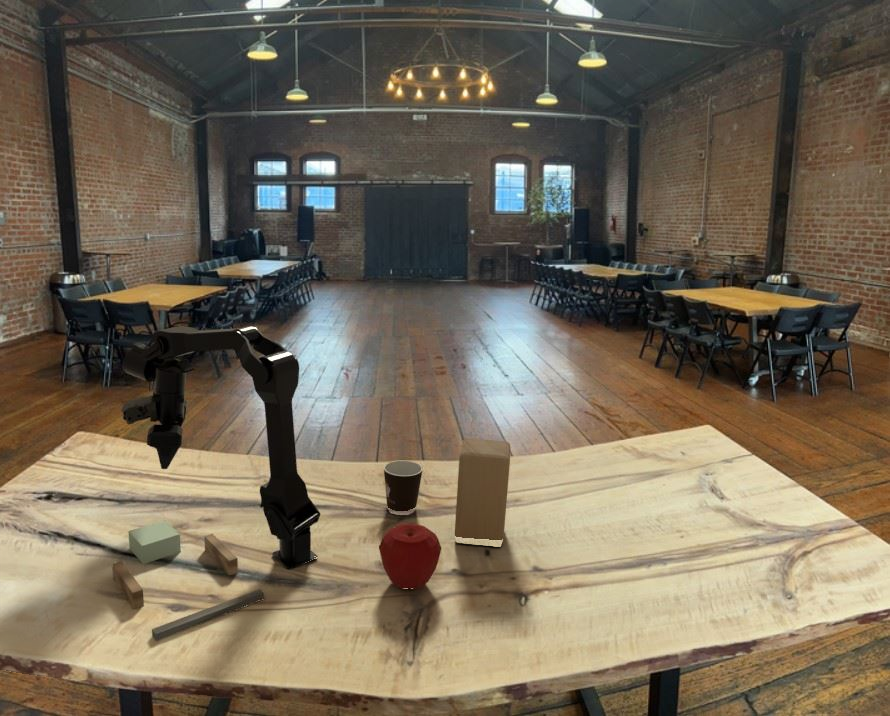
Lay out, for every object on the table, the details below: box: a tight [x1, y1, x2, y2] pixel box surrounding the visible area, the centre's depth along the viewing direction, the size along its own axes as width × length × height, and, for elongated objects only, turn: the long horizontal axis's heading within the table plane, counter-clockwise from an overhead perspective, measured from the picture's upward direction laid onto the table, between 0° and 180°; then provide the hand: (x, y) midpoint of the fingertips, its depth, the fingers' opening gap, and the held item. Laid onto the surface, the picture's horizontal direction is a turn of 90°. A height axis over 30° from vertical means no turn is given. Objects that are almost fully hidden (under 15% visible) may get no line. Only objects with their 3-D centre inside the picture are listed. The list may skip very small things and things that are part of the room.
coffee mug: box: [383, 459, 423, 511], centre depth 152 cm, size 12×9×10 cm
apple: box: [378, 522, 442, 589], centre depth 122 cm, size 11×11×12 cm
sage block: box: [127, 520, 182, 565], centre depth 129 cm, size 7×7×4 cm
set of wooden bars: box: [111, 533, 265, 642], centre depth 118 cm, size 21×18×3 cm
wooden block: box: [454, 437, 511, 540], centre depth 140 cm, size 10×10×20 cm
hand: (166, 458), depth 140 cm, fingers open, 9 cm apart
